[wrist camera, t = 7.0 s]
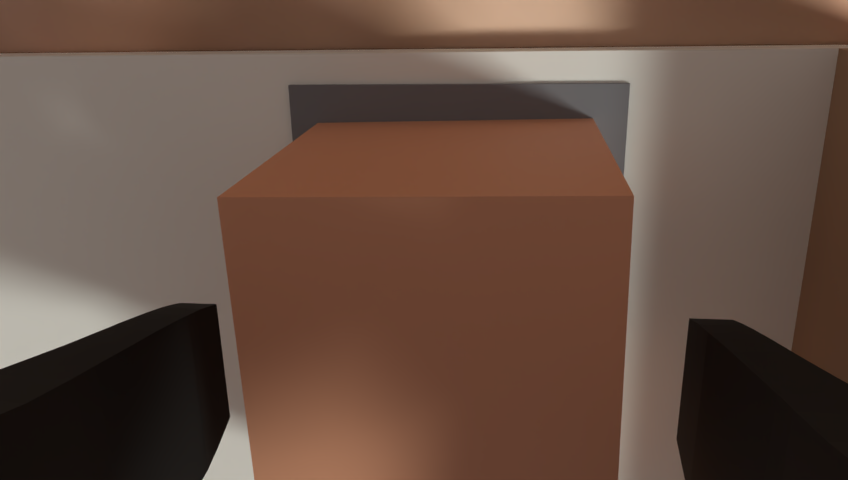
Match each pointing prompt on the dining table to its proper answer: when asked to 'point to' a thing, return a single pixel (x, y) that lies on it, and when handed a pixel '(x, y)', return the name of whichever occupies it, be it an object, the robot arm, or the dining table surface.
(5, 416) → the robot arm
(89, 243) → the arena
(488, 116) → the pad
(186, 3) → the dining table surface
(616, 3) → the dining table surface
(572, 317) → the bar
